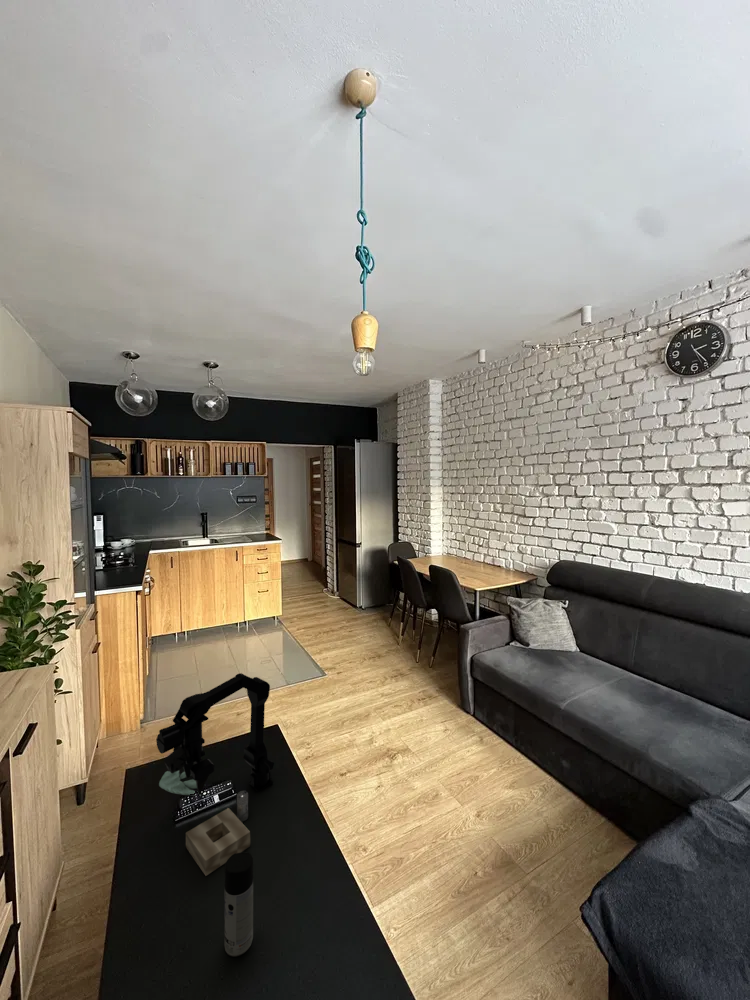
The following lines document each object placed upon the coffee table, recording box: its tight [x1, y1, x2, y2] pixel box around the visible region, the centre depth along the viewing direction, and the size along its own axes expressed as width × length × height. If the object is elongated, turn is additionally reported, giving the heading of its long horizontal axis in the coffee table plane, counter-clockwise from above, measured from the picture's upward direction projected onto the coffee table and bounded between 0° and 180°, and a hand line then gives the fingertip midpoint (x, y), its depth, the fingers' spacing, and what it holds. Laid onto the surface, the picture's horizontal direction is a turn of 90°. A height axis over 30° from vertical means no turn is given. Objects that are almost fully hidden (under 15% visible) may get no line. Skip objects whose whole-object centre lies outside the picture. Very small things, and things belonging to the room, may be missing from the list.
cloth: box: [158, 770, 206, 796], centre depth 159 cm, size 20×22×2 cm
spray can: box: [223, 851, 254, 958], centre depth 101 cm, size 7×7×20 cm
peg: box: [236, 790, 249, 823], centre depth 140 cm, size 4×4×8 cm
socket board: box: [185, 807, 251, 877], centre depth 129 cm, size 14×14×4 cm
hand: (193, 784), depth 137 cm, fingers open, 9 cm apart
